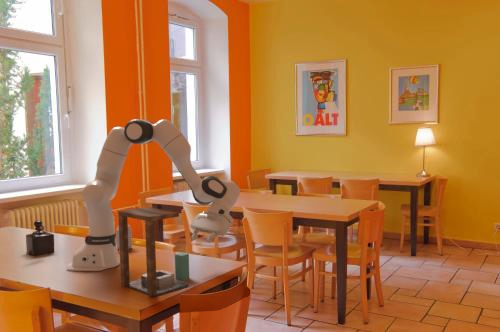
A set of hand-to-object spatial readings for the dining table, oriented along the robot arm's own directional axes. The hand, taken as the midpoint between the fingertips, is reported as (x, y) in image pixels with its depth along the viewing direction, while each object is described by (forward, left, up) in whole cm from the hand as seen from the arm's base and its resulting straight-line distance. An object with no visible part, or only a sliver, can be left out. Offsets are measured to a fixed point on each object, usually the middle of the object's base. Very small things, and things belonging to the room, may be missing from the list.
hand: (200, 240), depth 205 cm
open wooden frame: (-20, -17, -13) cm, 29 cm away
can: (-39, +49, -14) cm, 64 cm away
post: (-8, -6, -14) cm, 17 cm away
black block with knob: (-79, +46, -14) cm, 92 cm away
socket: (-17, -14, -14) cm, 26 cm away
